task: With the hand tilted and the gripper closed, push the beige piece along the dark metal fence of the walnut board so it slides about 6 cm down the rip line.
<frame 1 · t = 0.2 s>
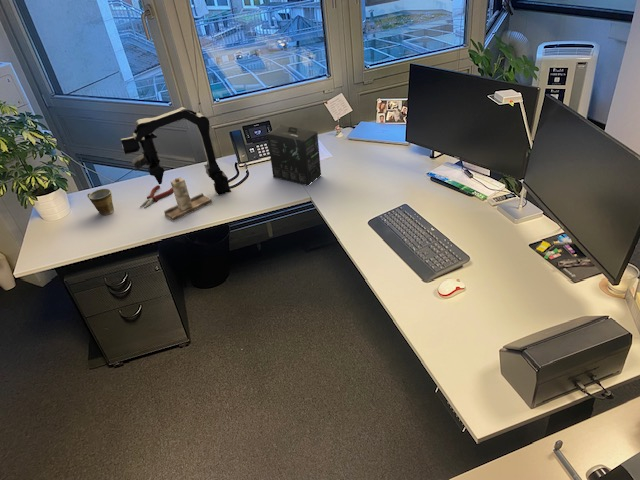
hand: (158, 179, 213), 15 cm above the table, tool pointing down, fingers open, 9 cm apart
beige piece: (181, 193, 212), point 9 cm above the table, slide at 0.0 cm
ceramic cup: (104, 211, 224), on the table
pliers: (154, 198, 232), on the table
headset box: (297, 177, 235), on the table
board: (188, 208, 219), on the table
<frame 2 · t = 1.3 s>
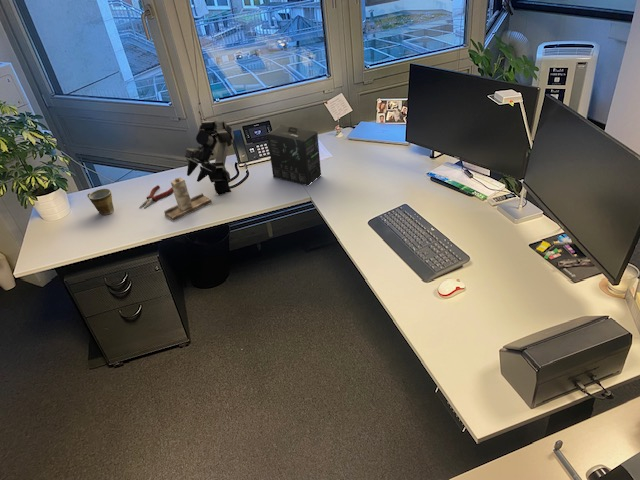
hand: (192, 178, 214), 13 cm above the table, tool tilted 45°, fingers open, 9 cm apart
nothing on the table moved.
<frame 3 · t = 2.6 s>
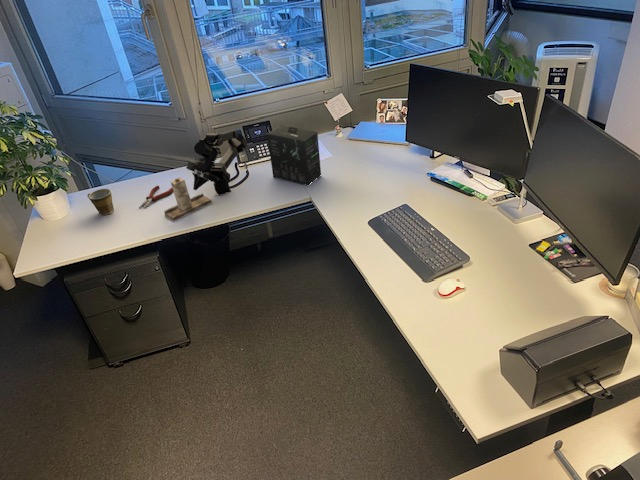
hand: (194, 189, 216), 8 cm above the table, tool tilted 45°, fingers closed
nothing on the table moved.
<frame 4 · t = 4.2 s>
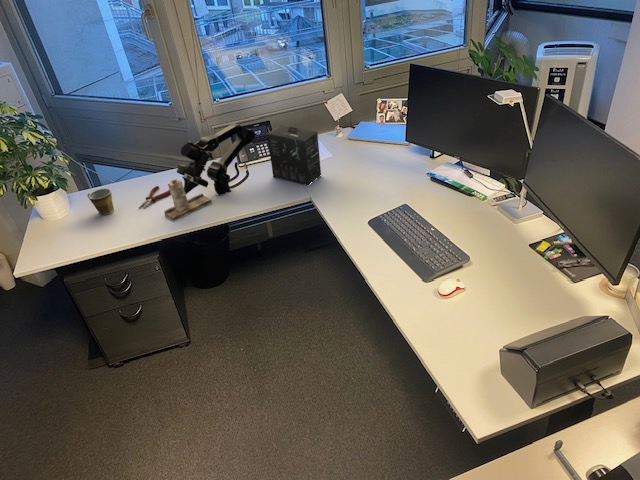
hand: (184, 194, 213), 8 cm above the table, tool tilted 45°, fingers closed, pressing on beige piece
beige piece: (178, 194, 211), point 9 cm above the table, slide at 1.5 cm, touching gripper
everything else where it was.
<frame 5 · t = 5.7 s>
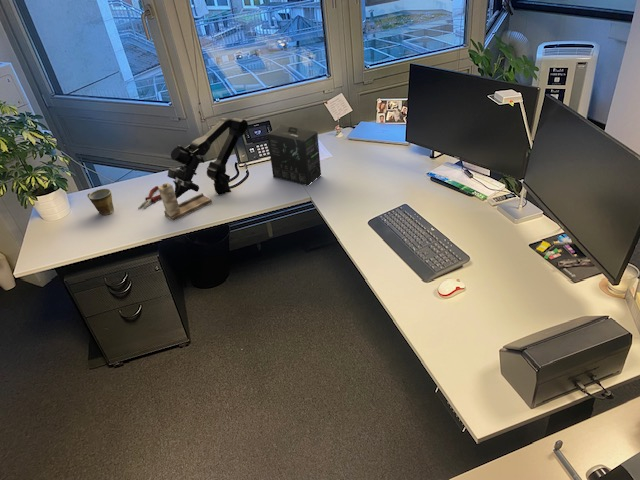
hand: (175, 198, 211), 8 cm above the table, tool tilted 45°, fingers closed, pressing on beige piece
beige piece: (169, 199, 209), point 9 cm above the table, slide at 6.3 cm, touching gripper
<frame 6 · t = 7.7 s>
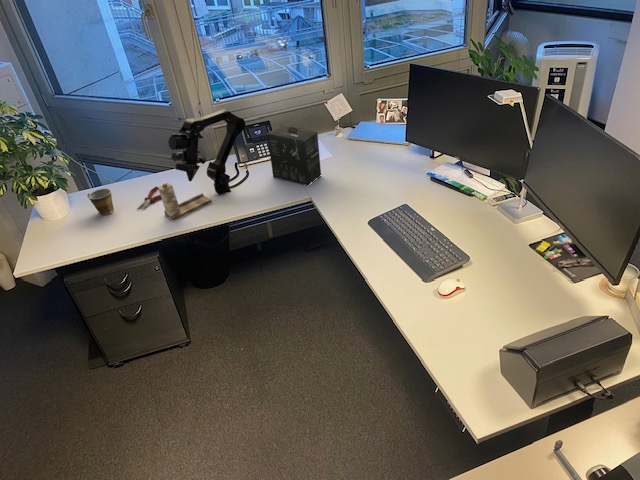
hand: (190, 181, 214), 13 cm above the table, tool tilted 20°, fingers closed
beige piece: (169, 199, 209), point 9 cm above the table, slide at 6.3 cm
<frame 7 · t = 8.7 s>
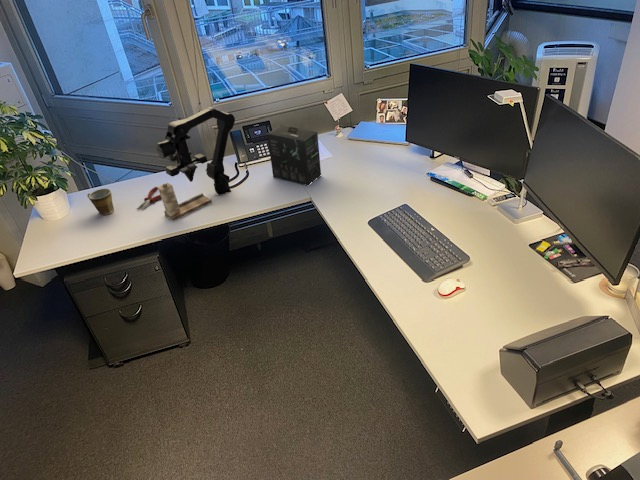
hand: (191, 181, 215), 12 cm above the table, tool pointing down, fingers closed
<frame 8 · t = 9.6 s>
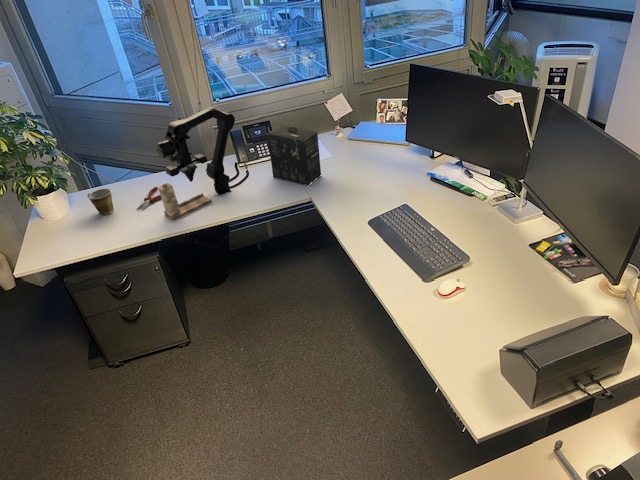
hand: (191, 181, 215), 12 cm above the table, tool pointing down, fingers closed
at the end: beige piece slide at 6.3 cm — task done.
